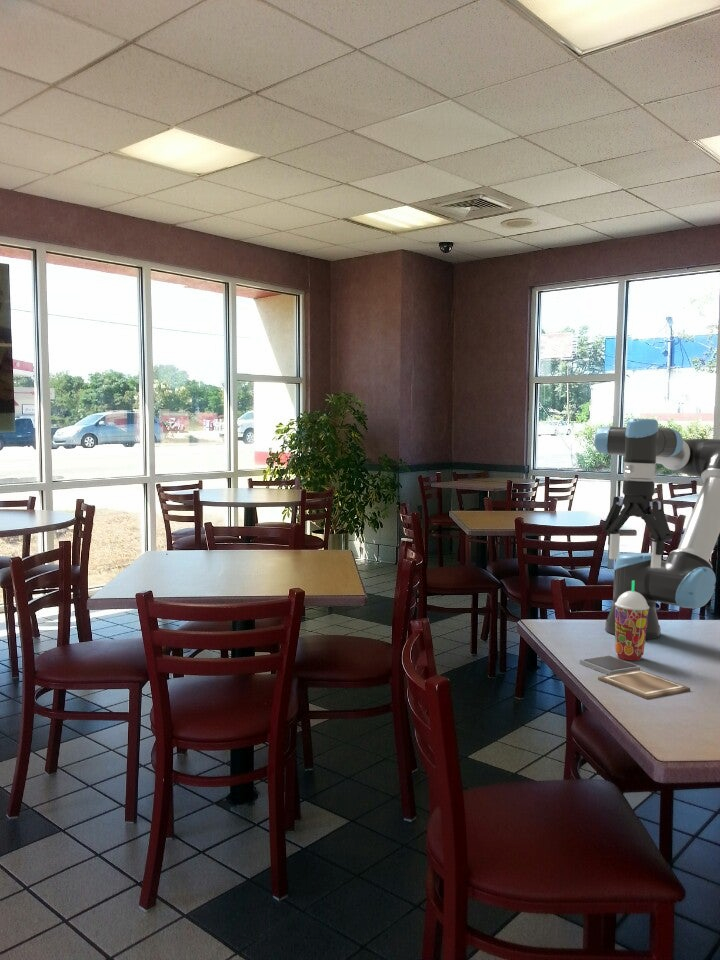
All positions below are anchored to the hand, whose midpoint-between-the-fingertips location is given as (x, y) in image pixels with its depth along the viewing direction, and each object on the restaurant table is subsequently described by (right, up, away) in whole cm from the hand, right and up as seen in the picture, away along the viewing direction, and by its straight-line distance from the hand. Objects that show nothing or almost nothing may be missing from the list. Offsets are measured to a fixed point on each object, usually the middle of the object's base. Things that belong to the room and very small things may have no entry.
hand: (633, 563), depth 196 cm
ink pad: (-8, -25, -7) cm, 27 cm away
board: (-5, -26, -20) cm, 33 cm away
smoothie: (-1, -25, +2) cm, 25 cm away
